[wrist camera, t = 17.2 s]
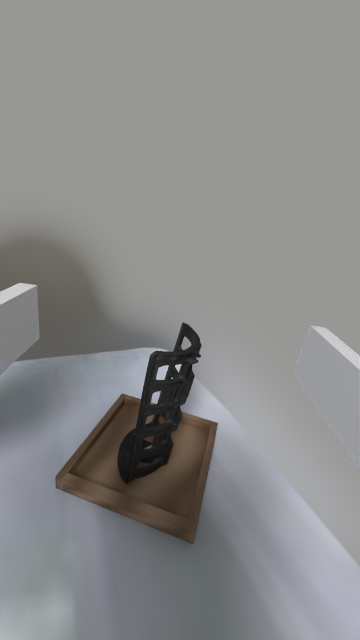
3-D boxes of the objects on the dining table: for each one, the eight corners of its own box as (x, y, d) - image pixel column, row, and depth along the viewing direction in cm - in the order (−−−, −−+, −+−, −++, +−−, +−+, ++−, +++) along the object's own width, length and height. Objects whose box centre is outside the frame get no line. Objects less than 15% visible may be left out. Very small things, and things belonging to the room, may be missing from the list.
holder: (129, 419, 45) (153, 313, 38) (172, 430, 45) (205, 326, 38) (107, 480, 35) (134, 350, 27) (163, 494, 35) (205, 369, 28)
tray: (56, 487, 34) (55, 476, 33) (121, 402, 50) (122, 393, 50) (192, 543, 30) (195, 532, 30) (215, 432, 47) (217, 423, 46)
